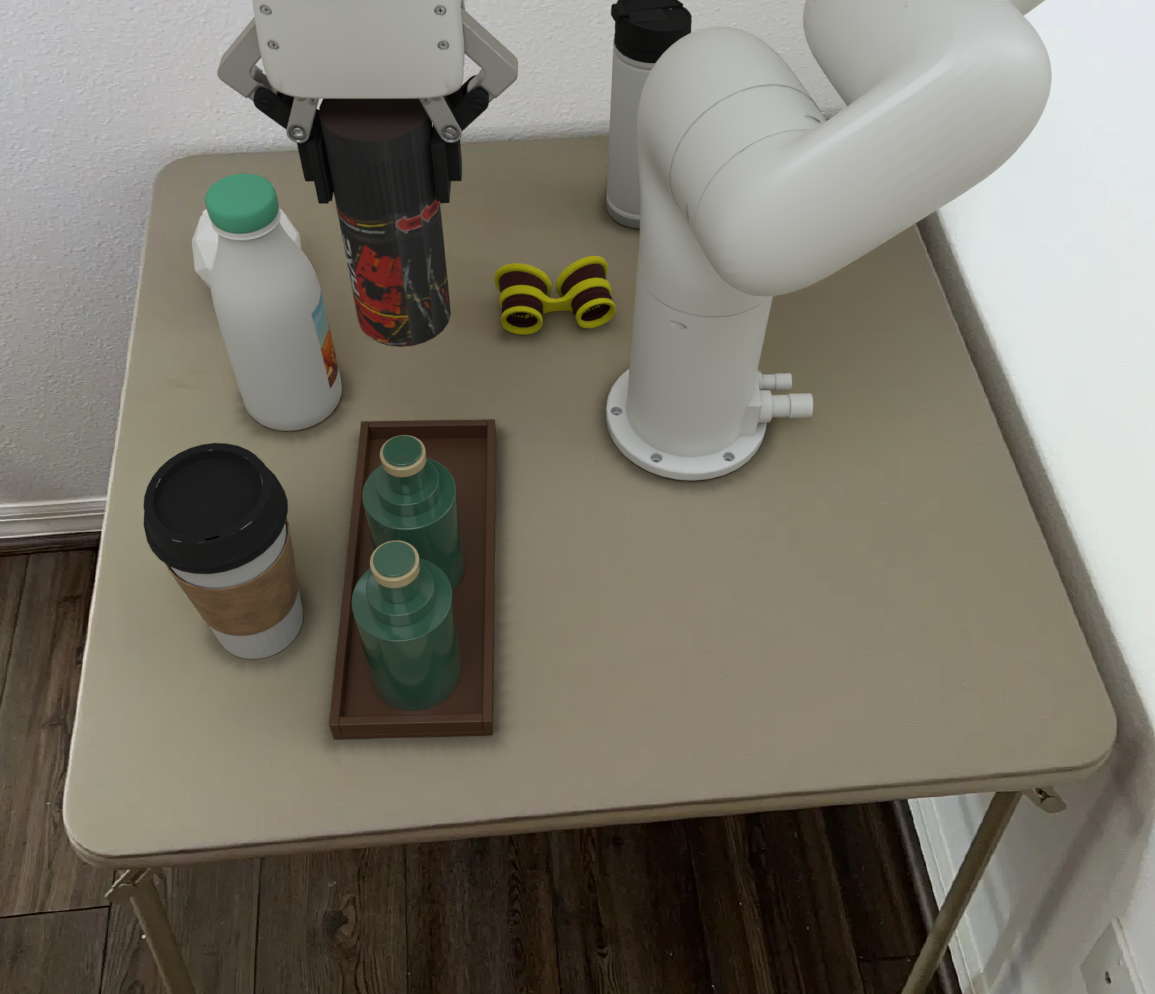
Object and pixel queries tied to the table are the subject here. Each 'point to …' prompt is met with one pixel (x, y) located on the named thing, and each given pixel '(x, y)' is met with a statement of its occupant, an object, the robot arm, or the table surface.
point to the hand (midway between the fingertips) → (386, 185)
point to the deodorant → (388, 216)
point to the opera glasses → (579, 293)
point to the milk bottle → (270, 309)
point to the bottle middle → (415, 505)
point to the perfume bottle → (208, 243)
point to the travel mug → (635, 91)
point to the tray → (471, 703)
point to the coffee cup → (228, 545)
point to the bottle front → (407, 628)
